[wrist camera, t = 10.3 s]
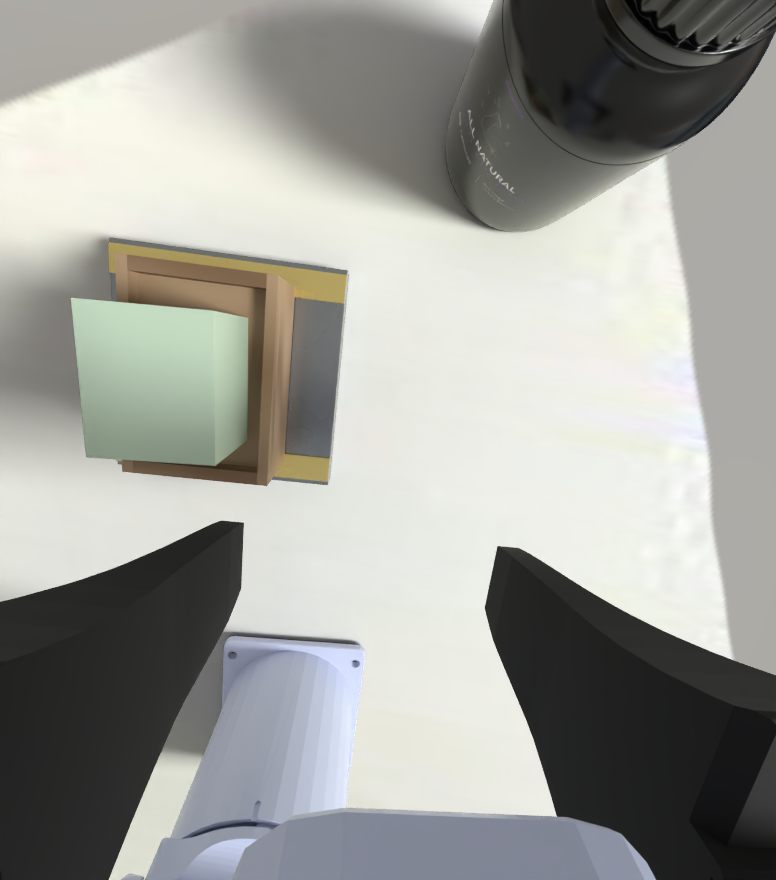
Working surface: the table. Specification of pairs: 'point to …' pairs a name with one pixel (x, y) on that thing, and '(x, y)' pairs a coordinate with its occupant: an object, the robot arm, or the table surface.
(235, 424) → the pale green block
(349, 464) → the table surface
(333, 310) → the dock
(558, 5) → the supplement bottle
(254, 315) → the open wooden box
